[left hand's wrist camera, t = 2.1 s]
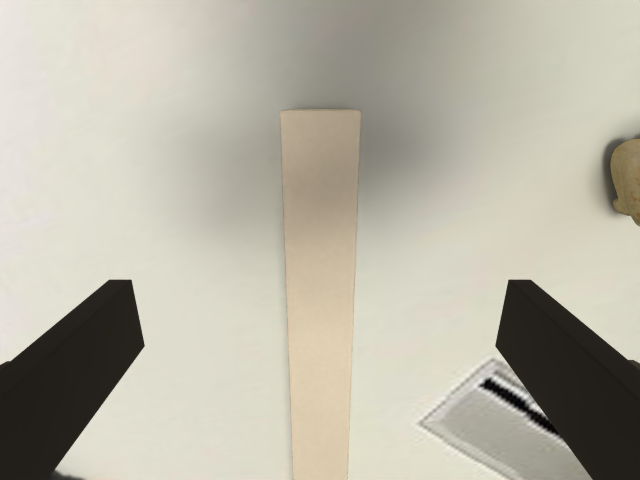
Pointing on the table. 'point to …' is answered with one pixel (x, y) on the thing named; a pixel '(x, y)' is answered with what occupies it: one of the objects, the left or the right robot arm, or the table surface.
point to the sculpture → (627, 178)
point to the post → (320, 282)
